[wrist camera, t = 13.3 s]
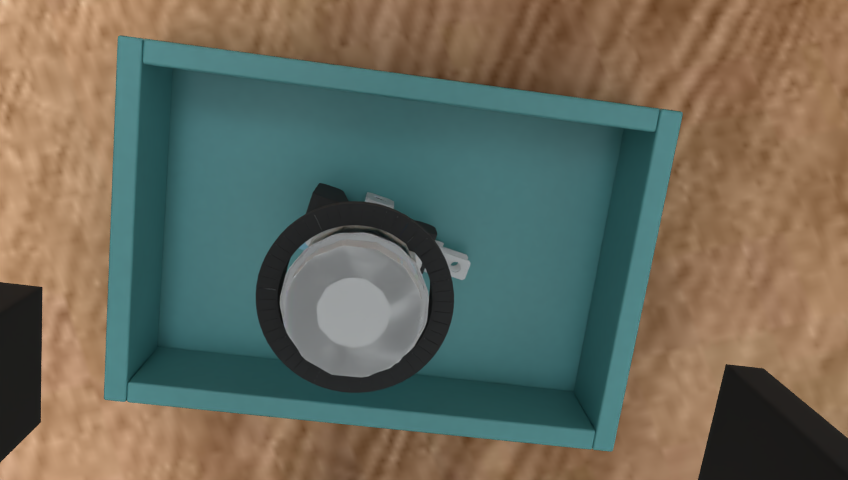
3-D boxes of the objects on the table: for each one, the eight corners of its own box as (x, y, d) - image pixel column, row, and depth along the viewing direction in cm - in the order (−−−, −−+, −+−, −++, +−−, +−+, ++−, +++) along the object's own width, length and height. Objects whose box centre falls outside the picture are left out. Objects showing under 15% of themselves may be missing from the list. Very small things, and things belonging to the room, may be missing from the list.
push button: (487, 200, 28) (536, 267, 18) (440, 323, 29) (463, 448, 20) (323, 143, 27) (284, 181, 18) (281, 271, 29) (223, 374, 19)
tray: (643, 106, 28) (684, 112, 24) (585, 403, 31) (613, 452, 27) (157, 40, 27) (116, 34, 23) (142, 356, 30) (102, 400, 26)
